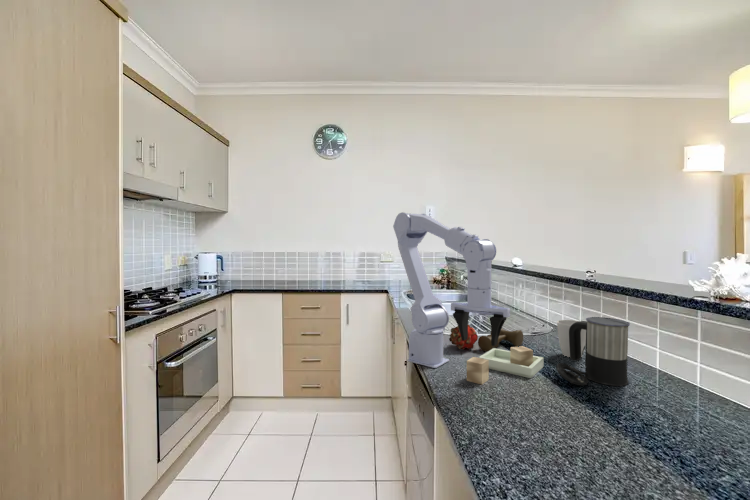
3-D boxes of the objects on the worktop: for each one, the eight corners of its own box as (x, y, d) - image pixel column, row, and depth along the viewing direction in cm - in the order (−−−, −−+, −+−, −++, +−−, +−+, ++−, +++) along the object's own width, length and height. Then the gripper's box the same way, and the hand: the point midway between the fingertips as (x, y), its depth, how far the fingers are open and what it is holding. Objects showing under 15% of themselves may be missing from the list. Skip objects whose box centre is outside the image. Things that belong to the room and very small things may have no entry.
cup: (592, 360, 102) (592, 326, 102) (561, 359, 104) (561, 325, 104) (581, 352, 110) (582, 320, 110) (553, 350, 112) (553, 319, 111)
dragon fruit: (454, 358, 110) (466, 353, 120) (476, 344, 107) (487, 341, 117) (440, 333, 114) (453, 331, 124) (461, 319, 110) (473, 318, 120)
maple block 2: (520, 370, 93) (520, 351, 93) (510, 365, 97) (510, 347, 97) (532, 368, 94) (532, 350, 94) (522, 364, 98) (522, 346, 98)
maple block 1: (466, 380, 88) (466, 360, 88) (473, 376, 91) (473, 356, 91) (482, 384, 86) (482, 364, 85) (488, 379, 89) (488, 360, 88)
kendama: (470, 349, 115) (503, 337, 128) (497, 357, 108) (529, 343, 121) (470, 331, 115) (504, 321, 128) (497, 338, 108) (530, 326, 120)
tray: (478, 366, 98) (478, 357, 98) (493, 356, 107) (493, 348, 107) (531, 378, 89) (531, 368, 89) (543, 366, 98) (543, 357, 98)
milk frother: (632, 379, 89) (632, 320, 88) (620, 399, 77) (621, 332, 77) (569, 365, 98) (569, 312, 98) (551, 382, 87) (551, 322, 87)
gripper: (514, 288, 87) (514, 343, 87) (459, 284, 96) (459, 334, 96) (504, 291, 81) (504, 350, 82) (447, 286, 90) (447, 340, 91)
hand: (479, 342), depth 88 cm, fingers open, 7 cm apart
